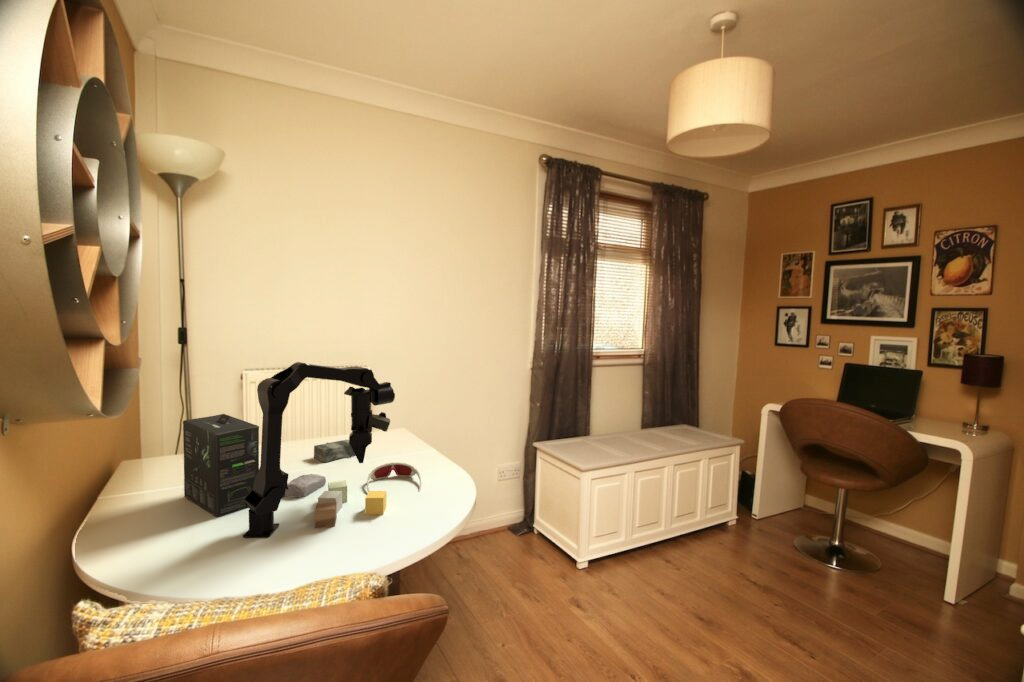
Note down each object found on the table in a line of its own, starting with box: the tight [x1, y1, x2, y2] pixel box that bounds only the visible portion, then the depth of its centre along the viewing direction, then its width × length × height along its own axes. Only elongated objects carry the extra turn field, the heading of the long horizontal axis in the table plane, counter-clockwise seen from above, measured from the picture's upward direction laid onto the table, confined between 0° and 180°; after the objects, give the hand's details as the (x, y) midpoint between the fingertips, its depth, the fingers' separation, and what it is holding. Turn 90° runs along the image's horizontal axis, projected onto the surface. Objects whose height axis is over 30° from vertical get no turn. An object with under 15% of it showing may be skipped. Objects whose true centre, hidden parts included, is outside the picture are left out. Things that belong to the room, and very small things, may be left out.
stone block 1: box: [284, 473, 327, 499], centre depth 145 cm, size 12×5×10 cm
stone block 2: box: [313, 439, 356, 464], centre depth 178 cm, size 9×14×5 cm, turn 140°
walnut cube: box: [314, 501, 338, 529], centre depth 123 cm, size 5×5×5 cm
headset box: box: [182, 413, 260, 518], centre depth 135 cm, size 22×12×26 cm, turn 56°
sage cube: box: [327, 480, 348, 504], centre depth 138 cm, size 5×5×5 cm
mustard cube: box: [364, 490, 387, 516], centre depth 131 cm, size 5×5×5 cm
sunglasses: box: [366, 462, 422, 493], centre depth 151 cm, size 17×17×5 cm
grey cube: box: [317, 490, 343, 514], centre depth 130 cm, size 5×5×5 cm
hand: (361, 458), depth 139 cm, fingers open, 9 cm apart
